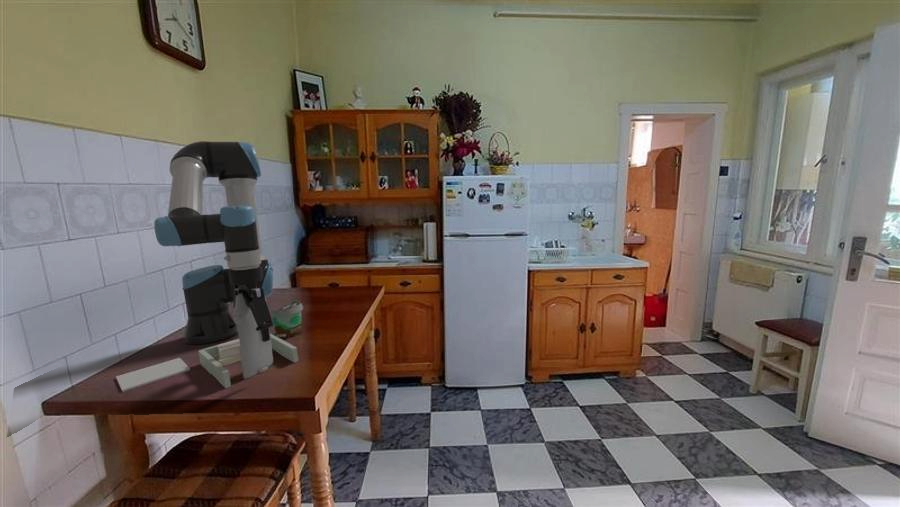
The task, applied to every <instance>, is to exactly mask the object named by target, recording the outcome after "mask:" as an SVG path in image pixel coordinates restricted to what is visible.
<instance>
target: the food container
mask: <svg viewBox="0 0 900 507" xmlns="http://www.w3.org/2000/svg"><path fill="white" fill-rule="evenodd" d="M302 310H304V306H303V304H302V303H301V301H300V300H296V299H295V300H294V299H293V300H292V303H290V304H288V305H284V306H282V307H281V308H279V309H275V310H271V313H270V316H271V318H272V322H273V326H274V331H275V336H276V337H278V338H280V339H282V340H284V339H283V338H287V339H289V338H288V337H291V338H293V337H292V336H295V335H297V336H299V335H300V334H301V333H302V332H303V331H302V329H303V327H302ZM301 331H302V332H301ZM299 333H300V334H299ZM298 334H299V335H298ZM295 337H296V336H295Z"/></svg>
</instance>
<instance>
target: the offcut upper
mask: <svg viewBox="0 0 900 507" xmlns="http://www.w3.org/2000/svg"><path fill="white" fill-rule="evenodd" d="M235 340H236V339H235ZM231 341H232V342H229V341H227V342H228V343H226V342H224V344H222V343H219V344H220V345H219V344H216V345H217V350H218V354H219V357H220V359H223V358H226V357H230V356H234V355H238V354H240V346H241V345H240V341H239V340H236V341H233V340H231Z"/></svg>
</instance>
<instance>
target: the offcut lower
mask: <svg viewBox="0 0 900 507" xmlns="http://www.w3.org/2000/svg"><path fill="white" fill-rule="evenodd" d="M213 356H214V359H215V360H216V361H218V362H219V363H220V364H221V365H222V366H224V367H226V365H227V366H229V364H230V365H233V364H236V363H238V361H239V362H241V357H240V354H238V355H234V356H230V357H226V358H223V359H220V357H219V354H215V355H213ZM235 362H236V363H235ZM232 363H233V364H232Z"/></svg>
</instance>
